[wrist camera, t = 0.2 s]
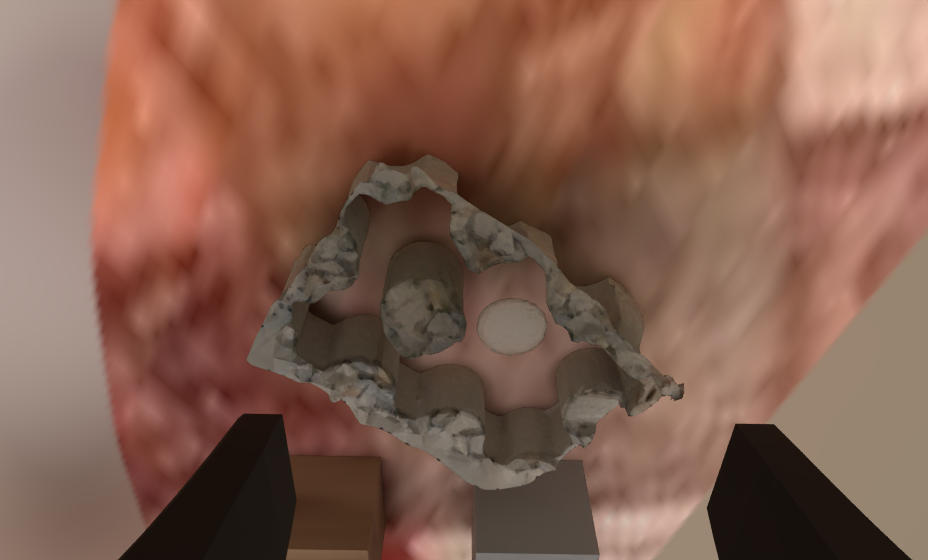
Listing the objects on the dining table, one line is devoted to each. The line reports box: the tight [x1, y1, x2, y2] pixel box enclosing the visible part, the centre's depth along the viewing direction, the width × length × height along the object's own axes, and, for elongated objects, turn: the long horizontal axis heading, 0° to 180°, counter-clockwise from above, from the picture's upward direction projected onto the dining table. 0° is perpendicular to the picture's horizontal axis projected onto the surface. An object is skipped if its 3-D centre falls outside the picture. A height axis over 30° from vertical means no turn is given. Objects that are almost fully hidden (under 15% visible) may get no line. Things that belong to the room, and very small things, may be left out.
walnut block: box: [286, 455, 385, 560], centre depth 24 cm, size 4×4×4 cm
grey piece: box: [247, 154, 684, 490], centre depth 19 cm, size 11×8×4 cm
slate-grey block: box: [472, 460, 600, 560], centre depth 24 cm, size 4×4×4 cm
